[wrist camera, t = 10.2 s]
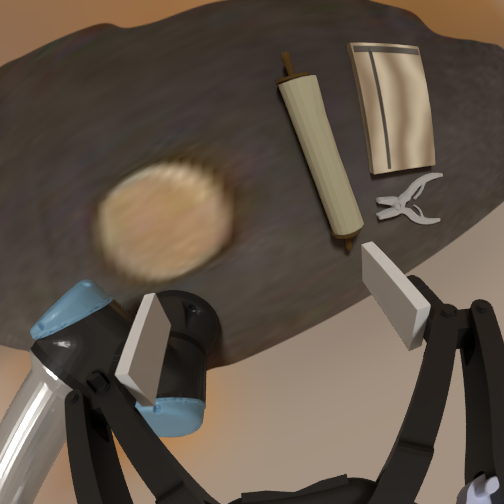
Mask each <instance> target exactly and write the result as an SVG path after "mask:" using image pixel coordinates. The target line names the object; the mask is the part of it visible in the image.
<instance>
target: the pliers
mask: <svg viewBox="0 0 504 504" xmlns="http://www.w3.org/2000/svg"><path fill="white" fill-rule="evenodd" d="M438 177H443V174H441V173H430V174H426V175H424V176H422V177H420V178H418V179H417V180H415V181H414V182H413V183H412V184H411V185H410V186H409V188H408V189H407V190H406V191H405V192H404V193H403V194H401V195H400V197H393V196H392V197H380V198H376V202H378V203H380V204H387V205H391V207H390V208H388V209H386V210H383V211H381V212H379V213H377V214H376V216H377V218H379V219H380V220H381V219H385V218H389V217H393V216H397V215H399V214H401V213H403V214H405V215H407V216H408V217H409V218H410V219H411V220H412V221H414V222H416V223H420V224H433V223H436V222H439V221H440V218H424V216H423V214H422V211H421V210H420V208H419V207H417V206H416V205H413V206H415V207H416V208H417V209H418V210H419V212H420V216H418V215H417V214H416V213H414V212H413V211H412V210H411V209H410V208H405V204H406V202H407V201H409V200H410V198H411V196H412V195H413V194H414V192H415V191H416V190H417V189H418V188H419V187H420V186H421V188H420V190H419V192H418V193H417V195H416V196H415V197H414V199H416V198H417V197H418V196H419V195H420V194H421V192H422V190H423V188H424V185H425V183H426V182H428V181H430V180H432V179H435V178H438Z"/></svg>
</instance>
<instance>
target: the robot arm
mask: <svg viewBox="0 0 504 504" xmlns="http://www.w3.org/2000/svg"><path fill="white" fill-rule="evenodd" d="M361 245H362V277H363V282H364V284H365V285H366V287H367V288H368V290H369V291H370V292H371V294H372V295H373V297H374V298H375V300H376V301H377V303H378V304H379V305H380V307H381V308H382V310H383V311H384V313H385V314H386V316H387V318H388V319H389V321H390V322H391V324H392V325H393V327H394V328H395V330H396V331H397V333H398V334H399V336H400V338H401V339H402V341H403V342H404V344H405V346H406V347H407V349H408V350H409V351H410V350H413V349H415V348H418V347H420V346H421V345H422V341H423V338H424V339H425V341H426V342H427V345H426V349H425V352H424V356H423V361H422V365H421V369H420V372H419V376H418V379H417V382H416V386H415V389H414V392H413V395H412V398H411V401H410V404H409V407H408V410H407V413H406V415H405V418H404V421H403V423H402V426H401V429H400V431H399V434H398V436H397V438H396V441H395V443H394V445H393V448H392V450H391V452H390V455H389V457H388V459H387V461H386V463H385V465H384V466H383V468H382V470H381V472H380V474H379V476H378V478H377V480H376V482H374V481H372V480H368V479H364V478H347V474H344V475H341V476H337V477H333V478H330V479H326V480H322V481H319V482H317V483H315V484H312V485H311V486H308V487H306V488H304V489H301V490H299V491H296V492H280V491H259V492H249V493H241V497H242V498H239V499H236V500H234V501H232V502H230V503H228V504H417V503H415V502H414V500H415V498H416V496H417V494H418V492H419V490H420V487H421V485H422V483H423V480H424V478H425V476H426V473H427V471H428V468H429V465H430V462H431V460H432V457H433V453H434V448H433V447H434V443H435V440H436V436H437V433H438V430H439V427H440V423H441V419H442V416H443V412H444V408H445V404H446V400H447V396H448V391H449V386H450V381H451V376H452V370H453V364H454V358H455V351H456V349H460V354H461V361H462V370H463V377H464V388H465V406H466V453H465V486H464V487H463V488H462V489H461V491H460V492H459V494H458V496H457V503H456V504H504V342H503V338H502V335H501V332H500V328H499V325H498V322H497V319H496V316H495V313H494V310H493V307H492V306H491V304H490V303H489V302H488V301H485V300H482V299H481V300H480V299H478V300H475V301H473V302H472V304H471V307H470V308H469V309H461V310H458V309H457V308H456V307H455V306H453V305H450V304H443V302H442V301H441V300H440V299H439V298H438V297H437V296H436V295H435V294H434V293H433V291H432V290H431V289H429V287H428V286H427V285H426V284H425V283H424V282H423V281H422V280H421V279H420V278H418V277H416V276H414V275H410V276H407V277H406V276H405V275H404V274H403V273H402V272H401V271H400V270H399V269H398V268H397V267H396V266H395V264H394V263H393V262H392V261H391V260H390V259H389V258H388V257H387V256H386V255H385V254H384V253H383V252H382V251H381V250H380V249H379V248H378V247H377V246H376V245H375V244H374V243H373V242H369V243H365V244H361ZM218 329H219V322H218V317H217V315H216V313H215V311H214V309H213V308H212V307H211V306H210V305H209V304H208V303H207V302H206V301H205V300H203V299H202V298H200V297H198V296H196V295H194V294H191V293H188V292H184V291H178V290H169V291H163V292H160V293H157V294H155V293H152V294H147V295H144V298H143V300H142V303H141V305H140V308H139V310H138V313H137V315H136V318H134V317H133V316H132V315H131V314H130V313H129V312H127V311H126V310H125V309H124V308H123V307H122V306H121V305H120V304H119V303H118V302H117V301H116V300H115V298H114V296H112V295H109V294H108V293H107V292H106V291H105V290H104V289H102V288H101V287H100V286H99V285H98V284H97V283H96V282H94V281H93V280H89V279H85V280H82V281H80V282H78V283H77V284H76V285H75V286H73V287H72V288H71V289H70V290H69V291H68V292H67V293H65V294H64V295H63V296H62V297H61V298H60V299H59V300H58V301H57V302H56V303H55V304H54V305H53V306H52V307H51V308H50V309H49V310H48V311H47V312H46V313H45V314H44V315H43V316H42V317H41V318H40V319H39V320H38V321H37V322H36V323H35V324H34V326H33V327H32V328H31V330H30V333H31V335H32V338H33V339H34V340H35V339H36V341H35V343H34V344H33V346H32V347H31V349H30V351H29V352H30V358H31V364H32V367H31V370H30V372H29V374H28V375H27V377H26V378H25V380H24V382H23V383H22V385H21V387H20V388H19V390H18V392H17V393H16V395H15V397H14V399H13V401H12V402H11V404H10V406H9V408H8V409H7V412H6V413H5V416H4V417H3V419H2V421H1V423H0V504H33V502H34V500H35V498H36V496H37V494H38V492H39V489H40V487H41V486H42V484H43V482H44V480H45V478H46V476H47V474H48V472H49V471H50V469H51V467H52V465H53V463H54V461H55V460H56V458H57V456H58V454H59V452H60V450H61V449H62V447H63V445H64V443H65V442H66V440H67V446H68V454H69V462H70V468H71V474H72V479H73V485H74V490H75V495H76V498H77V503H78V504H133V501H132V499H131V496H130V493H129V490H128V487H127V485H126V481H125V479H124V475H123V472H122V469H121V465H120V462H119V458H118V455H117V451H116V447H115V444H114V440H113V435H112V431H113V433H114V435H115V437H116V438H117V440H118V442H119V444H120V445H121V447H122V449H123V450H124V452H125V454H126V455H127V457H128V458H129V460H130V462H131V463H132V465H133V466H134V468H135V469H136V471H137V472H138V474H139V475H140V477H141V478H142V480H143V481H144V482H145V484H146V485H147V487H148V488H149V489H150V491H151V492H152V493H153V495H154V496H155V498H156V501H155V503H156V504H220V503H219V502H217V501H216V500H215V499H214V498H212V497H211V496H210V495H209V494H208V493H207V492H206V491H205V490H204V489H203V488H202V487H201V486H200V485H199V484H198V483H197V482H196V481H195V480H194V479H193V478H192V477H191V475H190V474H189V473H188V472H187V471H186V470H185V469H184V468H183V467H182V465H181V464H180V463H179V462H178V461H177V460H176V458H175V457H174V456H173V455H172V454H171V453H170V451H169V450H168V449H167V448H166V446H165V445H164V444H163V443H162V441H161V440H160V439H159V438H158V437H181V436H185V435H189V434H191V433H193V432H195V431H197V430H198V429H199V428H200V427H201V425H202V423H203V416H204V409H205V407H206V404H205V402H206V401H205V400H206V370H207V357H208V355H209V353H210V352H211V350H212V348H213V346H214V344H215V342H216V340H217V337H218ZM111 429H112V431H111Z"/></svg>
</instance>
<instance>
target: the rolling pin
mask: <svg viewBox="0 0 504 504" xmlns="http://www.w3.org/2000/svg"><path fill="white" fill-rule="evenodd" d="M281 59H282V61H283V63H284V65H285V68H286V70H287V73H288V76H287V77H284V78H281V79H278V80H276V81H275V82H276V84H279V85H278V87H279V89H280V92H281V94H282V97H283V99H284V102H285V105H286V107H287V110H288V113H289V115H290V118H291V121H292V123H293V126H294V129H295V131H296V134H297V136H298V139H299V142H300V144H301V147H302V150H303V152H304V155H305V158H306V161H307V163H308V166H309V169H310V171H311V174H312V176H313V179H314V182H315V185H316V187H317V190H318V193H319V196H320V198H321V201H322V204H323V206H324V209H325V212H326V214H327V217H328V220H329V223H330V225H331V228H332V229H331V234H332V236H333V237H335V238H337V239H345V248H346V250H348V251H350V250H352V248H353V244H352V241H351V237H354V236H355V235H357V234H358V233H359V232H360V230H361V227H362V226H363V224H364V223H363V220H362V217H361V214H360V211H359V209H358V206H357V203H356V200H355V197H354V195H353V192H352V189H351V186H350V183H349V181H348V178H347V175H346V172H345V170H344V167H343V164H342V161H341V159H340V156H339V153H338V150H337V147H336V144H335V141H334V137H333V134H332V131H331V128H330V125H329V122H328V119H327V116H326V113H325V109H324V105H323V101H322V97H321V93H320V89H319V85H318V81H317V78H316V75H312V76H310V75H311V74H310V72H303V73H298V74H295V73H294V70H293V66H292V62H291V57H290V54H289V53H288V52H283V53H282V54H281Z"/></svg>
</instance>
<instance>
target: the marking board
mask: <svg viewBox="0 0 504 504" xmlns="http://www.w3.org/2000/svg"><path fill="white" fill-rule="evenodd" d="M347 49H348V53H349V57H350V61H351V65H352V69H353V73H354V78H355V82H356V87H357V92H358V97H359V102H360V107H361V113H362V119H363V125H364V131H365V138H366V145H367V153H368V161H369V170H370V173H372V174H379V173H385V172H391V171H398V170H404V169H411V168H417V167H424V166H431V165H435V151H434V138H433V127H432V118H431V111H430V104H429V97H428V91H427V85H426V80H425V75H424V70H423V65H422V61H421V57H420V53H419V49H418V47H415V46H406V45H396V44H380V43H349V44H347Z"/></svg>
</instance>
